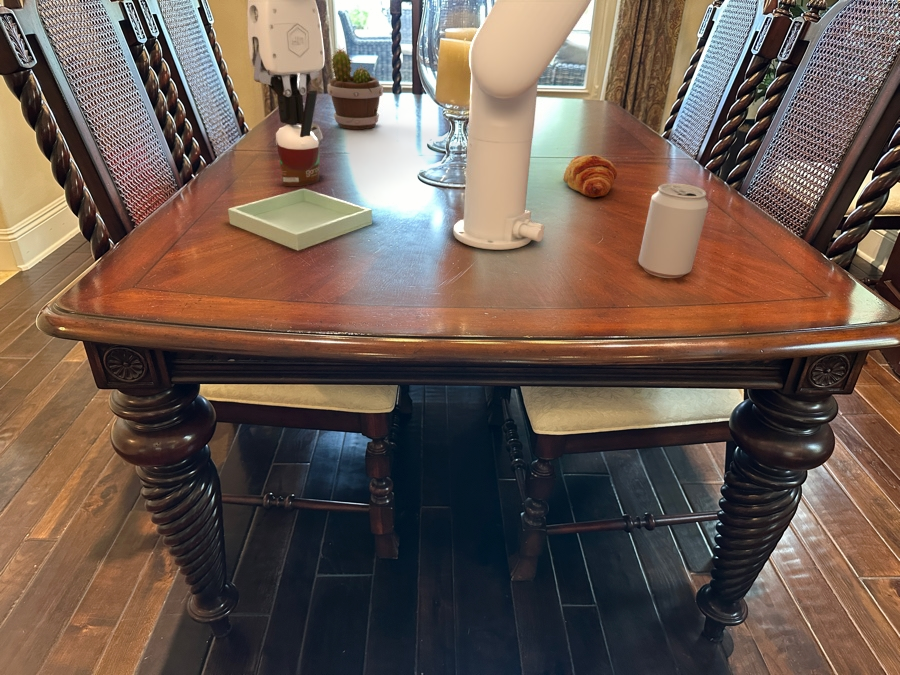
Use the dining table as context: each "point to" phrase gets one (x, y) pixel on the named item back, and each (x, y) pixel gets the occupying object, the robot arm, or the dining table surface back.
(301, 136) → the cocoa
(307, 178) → the food container
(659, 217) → the can
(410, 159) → the dining table surface
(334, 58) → the flowerpot
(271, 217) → the tray
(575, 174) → the croissant
